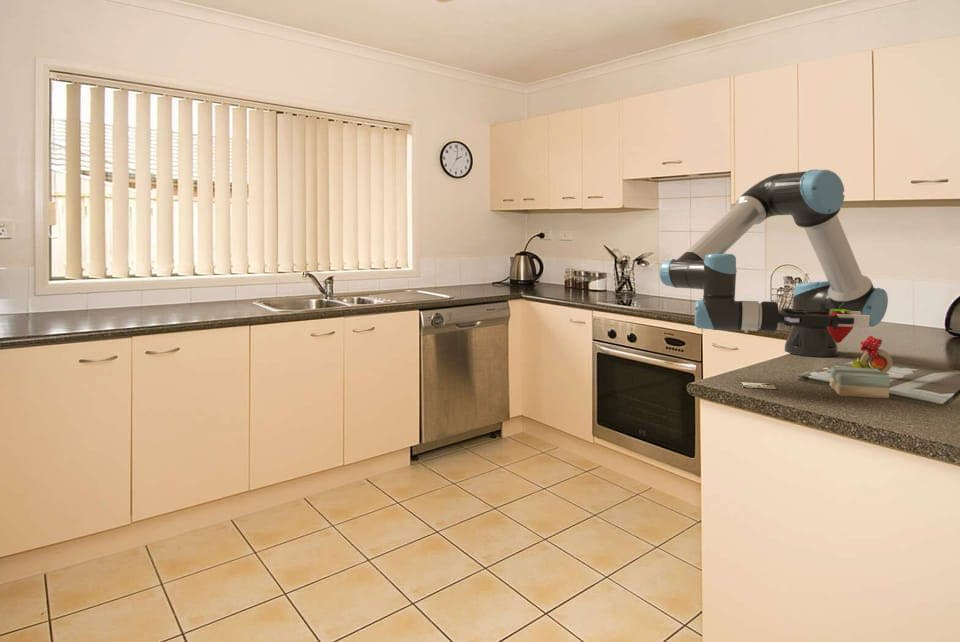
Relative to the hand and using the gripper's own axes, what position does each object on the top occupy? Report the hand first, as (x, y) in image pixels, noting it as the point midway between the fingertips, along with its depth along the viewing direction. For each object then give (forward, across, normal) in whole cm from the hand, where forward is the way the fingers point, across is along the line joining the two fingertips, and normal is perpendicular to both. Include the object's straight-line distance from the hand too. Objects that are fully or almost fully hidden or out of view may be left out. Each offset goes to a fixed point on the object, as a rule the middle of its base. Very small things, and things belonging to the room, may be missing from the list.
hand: (864, 319), depth 146 cm
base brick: (0, +1, -18) cm, 18 cm away
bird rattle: (+7, -19, -18) cm, 27 cm away
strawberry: (-5, 0, -6) cm, 8 cm away
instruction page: (-22, +1, -18) cm, 29 cm away
